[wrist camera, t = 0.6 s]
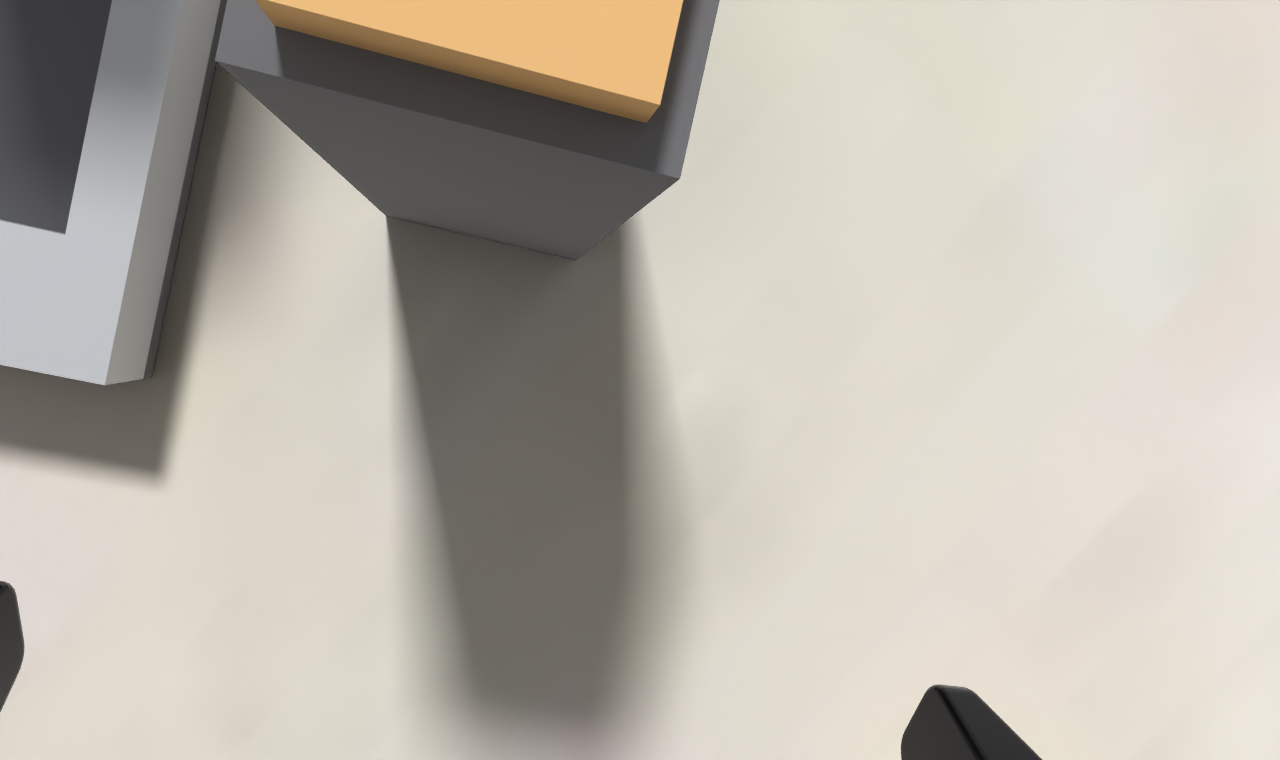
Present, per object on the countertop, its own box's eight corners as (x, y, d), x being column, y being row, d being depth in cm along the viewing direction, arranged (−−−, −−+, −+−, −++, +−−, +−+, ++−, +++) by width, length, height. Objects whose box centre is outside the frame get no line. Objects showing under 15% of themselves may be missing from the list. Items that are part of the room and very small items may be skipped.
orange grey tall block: (575, 260, 22) (696, 165, 9) (385, 215, 21) (186, 34, 8) (616, 74, 22) (804, -324, 8) (426, 23, 21) (296, -503, 8)
